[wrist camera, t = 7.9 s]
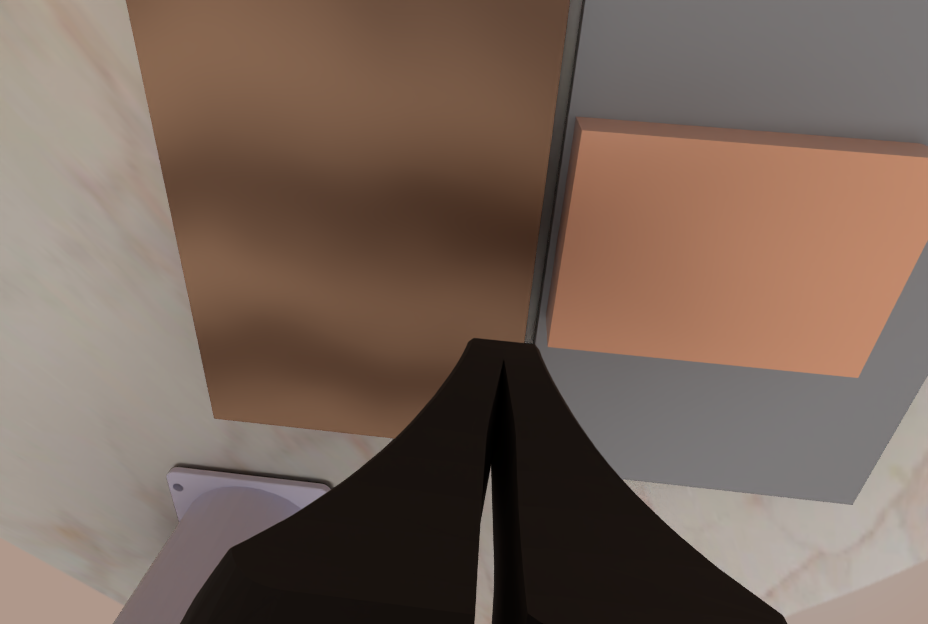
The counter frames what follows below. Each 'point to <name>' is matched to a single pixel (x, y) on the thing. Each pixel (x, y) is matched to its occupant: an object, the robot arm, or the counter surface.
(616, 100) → the mat
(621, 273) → the tile
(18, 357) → the counter surface
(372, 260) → the deck
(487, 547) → the counter surface
